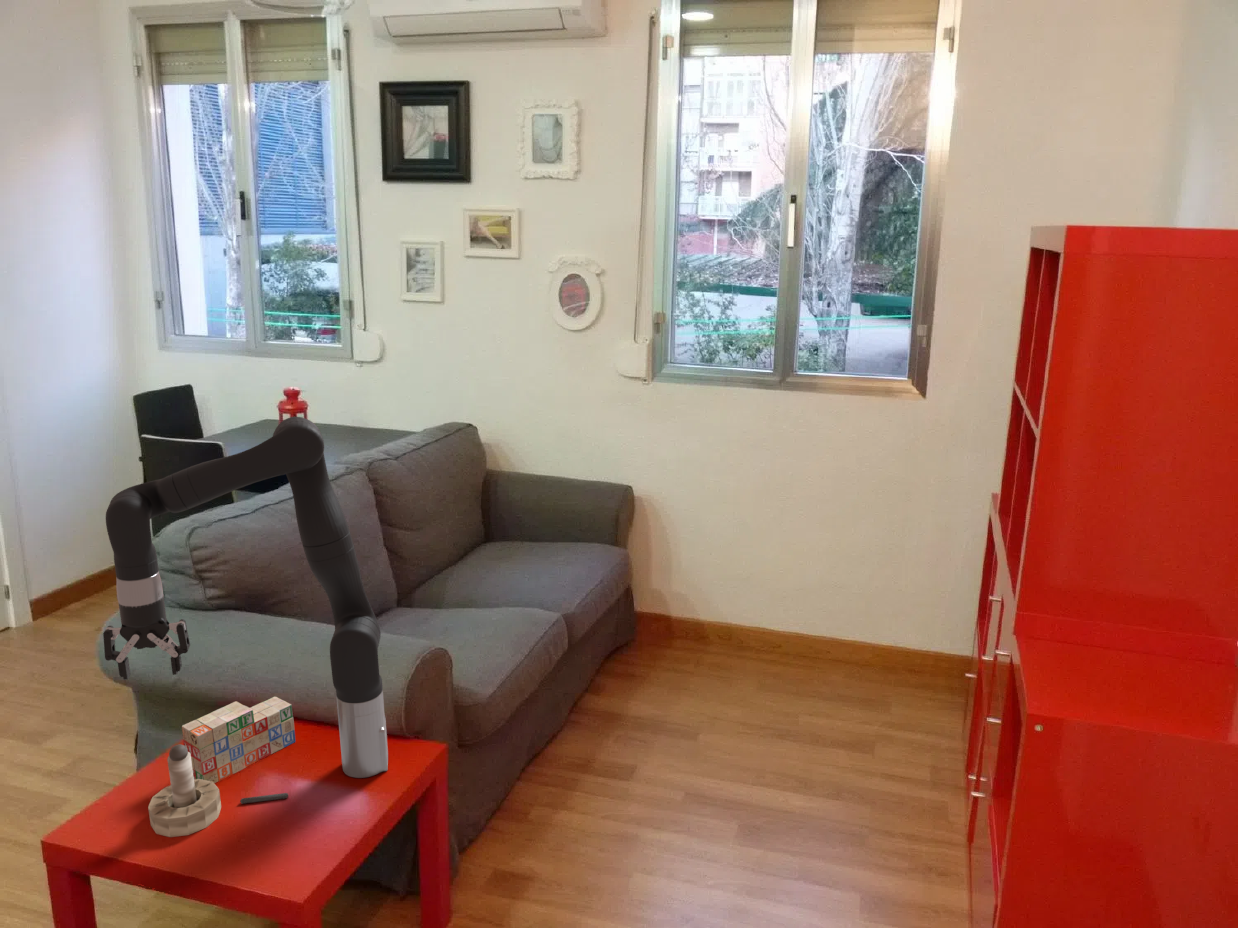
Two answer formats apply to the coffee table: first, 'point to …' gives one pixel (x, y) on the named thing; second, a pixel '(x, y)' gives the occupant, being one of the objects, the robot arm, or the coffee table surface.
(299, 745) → the coffee table surface
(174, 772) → the grey tipped beige rod
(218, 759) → the stack of blocks
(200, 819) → the bead
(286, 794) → the dark grey rod
